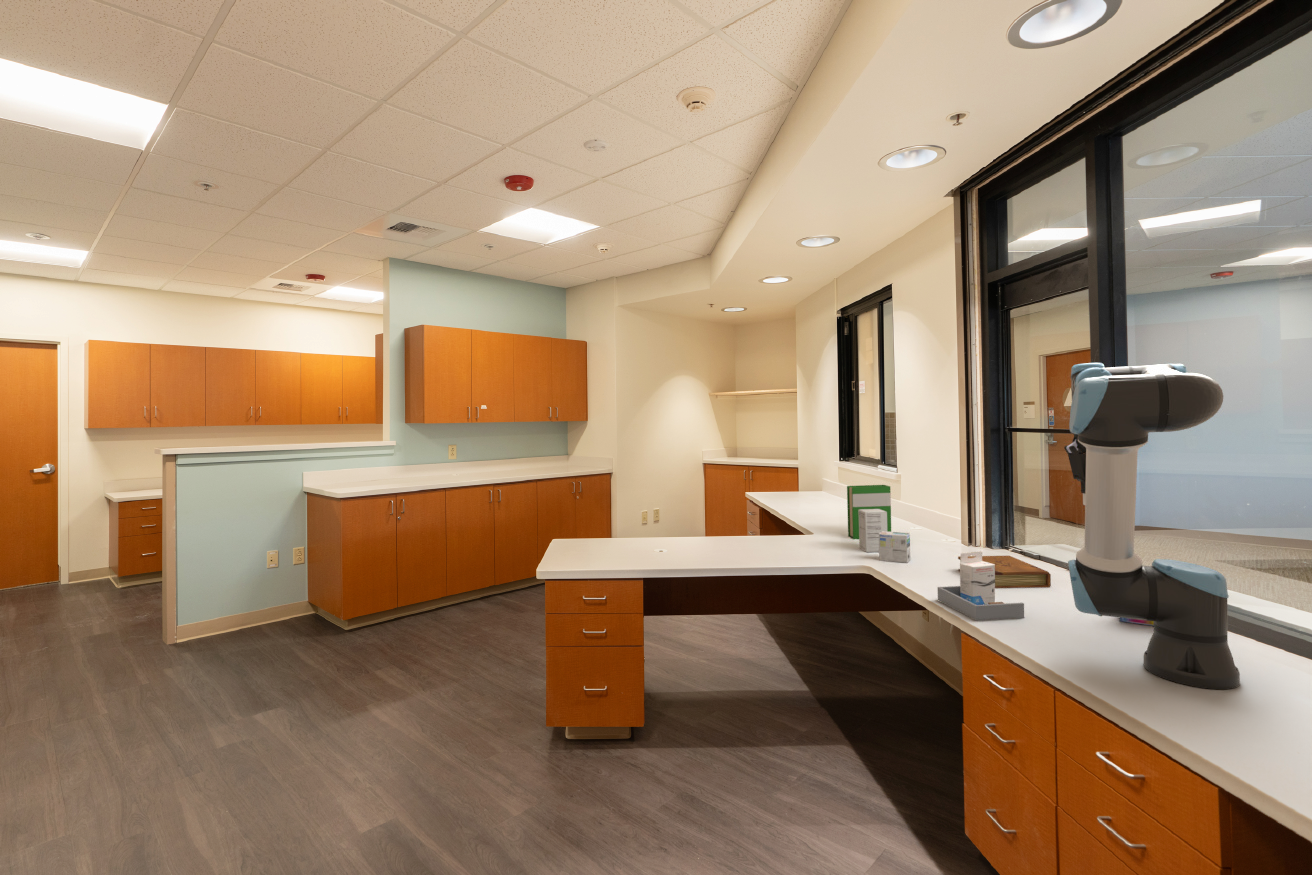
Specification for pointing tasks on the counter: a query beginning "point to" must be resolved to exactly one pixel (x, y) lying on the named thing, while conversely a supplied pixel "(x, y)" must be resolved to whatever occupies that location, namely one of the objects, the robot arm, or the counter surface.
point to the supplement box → (871, 528)
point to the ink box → (977, 579)
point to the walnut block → (996, 603)
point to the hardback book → (867, 504)
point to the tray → (979, 606)
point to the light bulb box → (894, 546)
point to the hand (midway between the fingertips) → (1089, 505)
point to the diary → (1016, 573)
